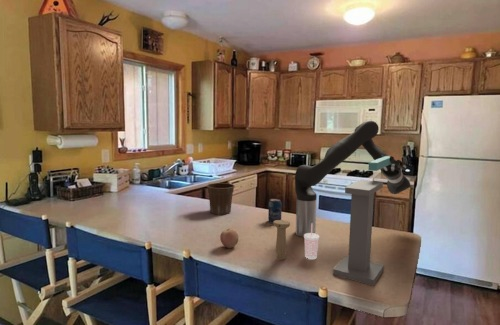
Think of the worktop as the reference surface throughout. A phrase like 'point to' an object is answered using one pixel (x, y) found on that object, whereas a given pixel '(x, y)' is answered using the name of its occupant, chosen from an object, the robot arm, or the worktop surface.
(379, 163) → the teal bar
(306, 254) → the beverage cup
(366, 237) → the gray stand
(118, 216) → the worktop surface
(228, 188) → the plant pot
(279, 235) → the handle
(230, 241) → the apple
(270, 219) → the soda can
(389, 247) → the worktop surface
